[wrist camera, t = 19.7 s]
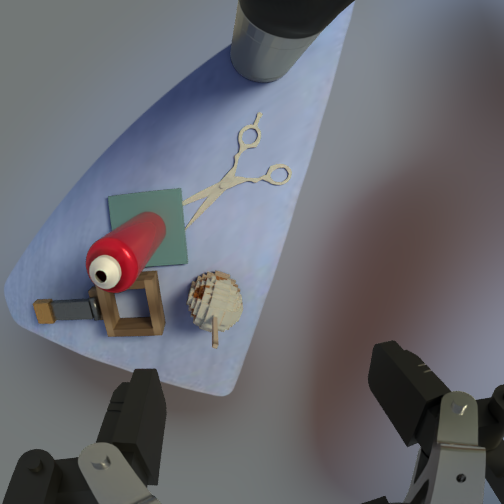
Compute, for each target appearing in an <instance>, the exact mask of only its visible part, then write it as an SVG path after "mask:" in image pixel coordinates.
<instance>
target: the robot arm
mask: <svg viewBox="0 0 504 504" xmlns="http://www.w3.org/2000/svg"><path fill="white" fill-rule="evenodd" d="M353 1H355V0H238V6H237V13H236V19H235V25H234V32H233V39H232V44H231V51H230V56H231V61H232V64H233V66H234V68H235V69H236V70H237V71H238V73H239V74H241V75H242V76H243V77H245V78H247V79H249V80H252V81H255V82H263V83H264V82H272V81H275V80H277V79H279V78H281V77H283V76H284V75H285V74H286V73H287V72H288V71H289V69H290V68H291V67H292V66H293V65H294V64H295V62H296V61H297V60H298V59H299V58H300V57H301V55H302V54H303V53H304V52H305V51H306V49H307V48H308V47H309V46H310V45H311V44H312V42H313V41H314V40H315V39H316V38H317V37H318V35H319V34H320V33H321V32H322V31H323V30H324V29H325V28H326V26H328V25H329V24H330V23H331V22H332V21H333V20H334V19H335V18H336V17H337V15H338V14H340V13H341V12H342V11H343V10H344V9H345V8H346V7H347V6H349V5H350V4H351V3H352V2H353ZM368 383H369V387H370V390H371V391H372V393H373V394H374V396H375V398H376V399H377V401H378V402H379V404H380V405H381V407H382V408H383V410H384V411H385V413H386V415H387V416H388V418H389V419H390V421H391V422H392V424H393V425H394V427H395V429H396V430H397V432H398V433H399V435H400V436H401V438H402V439H403V441H404V443H405V444H406V446H407V447H409V446H411V445H414V444H416V443H419V444H420V446H421V447H420V449H419V451H418V455H417V460H416V464H415V468H414V473H413V476H412V480H411V484H410V488H409V491H408V493H407V495H406V498H405V499H404V502H403V503H388V501H387V499H386V496H383V497H380V498H377V499H374V500H371V501H368V502H365V503H362V504H483V496H484V484H485V478H486V480H487V481H488V483H489V484H490V486H491V488H492V489H493V491H494V493H495V494H496V496H497V497H498V499H499V501H500V502H501V504H504V440H503V437H504V384H503V385H500V386H498V387H497V388H496V389H495V390H494V393H493V394H492V397H491V398H485V399H479V400H475V399H474V398H473V397H472V396H471V395H469V394H467V393H465V392H461V391H453V392H451V391H450V390H449V388H448V387H447V386H446V385H445V384H444V383H443V382H442V381H441V380H440V379H439V378H438V377H437V376H436V375H435V374H434V373H433V372H432V371H431V370H430V368H429V367H428V366H427V365H425V363H424V362H423V361H422V360H421V359H420V358H419V357H418V356H417V355H415V354H414V353H412V352H410V351H408V350H403V349H402V348H401V347H400V346H399V345H398V343H397V342H396V341H393V340H392V341H388V342H383V343H378V344H375V346H374V348H373V352H372V358H371V364H370V369H369V374H368ZM165 421H166V402H165V398H164V394H163V391H162V387H161V383H160V380H159V376H158V372H157V370H156V369H135V370H134V372H133V375H132V378H131V381H130V382H123V383H121V384H120V385H119V386H118V387H117V389H116V390H115V391H114V392H113V395H112V398H111V400H110V404H109V406H108V409H107V412H106V414H105V417H104V420H103V423H102V426H101V429H100V432H99V435H98V438H97V441H96V443H94V444H91V445H89V446H87V447H86V448H85V449H83V451H82V452H81V454H80V455H79V457H76V458H69V459H60V460H54V459H53V457H52V456H51V455H50V454H49V453H48V452H47V451H44V450H41V449H34V450H30V451H28V452H26V453H24V454H23V455H22V456H21V457H20V459H19V460H18V463H17V465H16V468H15V470H14V473H13V475H12V478H11V481H10V483H9V486H8V489H7V492H6V494H5V498H4V500H3V504H161V503H160V501H159V500H157V498H156V497H155V496H153V495H152V494H151V493H150V492H149V490H148V489H147V485H158V477H159V468H160V459H161V452H162V444H163V436H164V429H165Z"/></svg>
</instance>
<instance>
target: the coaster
mask: <svg viewBox="0 0 504 504" xmlns="http://www.w3.org/2000/svg"><path fill="white" fill-rule="evenodd" d="M108 202H109V211H110V219H111V227H112V231H113V230H114V229H116V228H117V227H119V226H121V225H122V224H124V223H125V222H127V221H128V220H130V219H132V218H133V217H135V216H136V215H138V214H140V213H142V212H153V213H156V214H157V215H159V216H160V217H161V218H162V219H163V221H164V223H165V226H166V235H165V238H164V240H163V241H162V243H161V244H160V246H159V247H158V249H157V250H156V251H155V253H154V254H153V256H152V257H151V259H150V260H149V261H148V263H147V264H146V266H145V267H148V266H162V265H175V264H188V255H187V246H186V236H185V226H184V215H183V204H182V191H181V188H177V189H167V190H157V191H148V192H139V193H130V194H122V195H114V196H108Z"/></svg>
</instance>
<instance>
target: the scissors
mask: <svg viewBox="0 0 504 504" xmlns="http://www.w3.org/2000/svg"><path fill="white" fill-rule="evenodd" d="M262 115H263V114H262V113H260V112H259V113H258V114H257V118H256V120H255V122H254V125H251V124H250V125H248V126H245V127H244V128H243V129H242V130H241V131H240V132H239V137H238V140H239V144H240V149H239V153H237V154H236V155H235V164H234V167H233V168H232V169H231V170H230V171H229V172H228V173H227V174H226V175H225V177H224V178H223V179H222V180H221V181H220V182H219V183H217V184H215V185H213V186H211V187H209V188H206V189H204V190H202V191H200V192H199V193H197V194H195V195H193V196H191V197H190V198H188V199H186V200H184V201H183V202H182V204H183V206H184V205H186V204H189V203H191V202H193V201H196V200H199V199H202V198H205V197H207V196H208V198H207V199H206V200H205V202H204V203H203V204H202V206H201V207H200V208H199V210H198V211H197V212H196V214H195V215H194V217H193V218H192V219H191V221H190V222H189V224H188V225H187V227H186V228H185V230H186V229H187V228H188V227H189V226H190V225H191V224H192V223H193V222H194V221H195V220H196V219H197V218H198V217H199V216H200V215H201V214H202V213H203V212H204V211H205V210H206V209H207V208H208V207H209V206H210V205H211V204H212V203H213V202H214V201H215V200H216V199H217V198H218V197H219V196H220V195H221V194H222V193H223V192H224V191H225V190H226V189H228V188H231V187H233V186H235V185H237V184H240V183H243V182H246V181H252V182H254V183H256V182H258V181H260V180H262V179H263V180H266V181H268V182H270V183H271V184H275V185H282V184H285V183H286V182H288V181H289V180H290V178H291V174H292V172H291V169H290V168H289V167H288V166H286V165H284V164H276V165H273V166H270V168H269V170H268V172H267V174H266V175H263V176H262V177H260V178H244V177H234V176H235V172H236V168H237V163H238V159H239V156H240V155H241V153H242V152H243V151H245V150H246V149H247V148H253V147H256V146H257V145H258V144H259V142H260V139H261V131H260V129H259V128H258V127H257V125H258V122H259V119H260V118H261V116H262ZM249 128H253V129H255V130H256V131H257V133H258V137H257V139H256V141H255V142H254V143H252V144H250V145H249V144H244V142H243V141H242V135H243V133H244V131H246V130H247V129H249ZM277 168H285V169H286V170H287V171H288V177H287V179H286V180H284V181H283V182H274V181H273V180H272V179H271V177H270V175H271V173H272V171H273V170H275V169H277Z"/></svg>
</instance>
